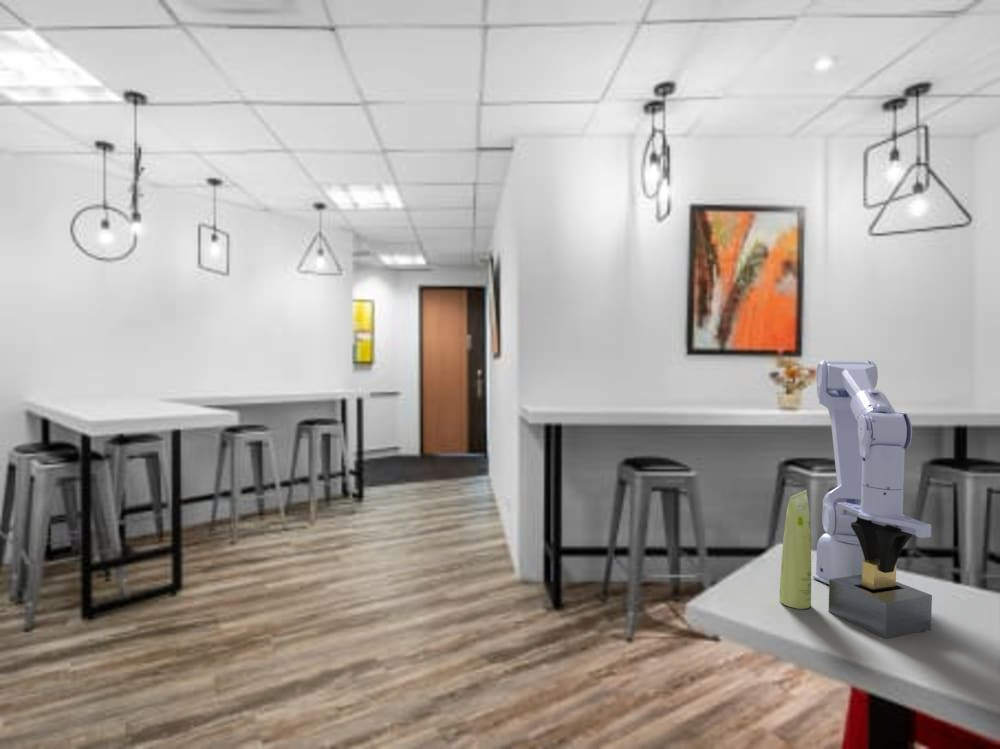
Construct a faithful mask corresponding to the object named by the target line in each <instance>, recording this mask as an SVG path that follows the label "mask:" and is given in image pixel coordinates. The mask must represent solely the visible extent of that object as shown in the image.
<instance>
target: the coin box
mask: <svg viewBox="0 0 1000 749" xmlns="http://www.w3.org/2000/svg"><path fill="white" fill-rule="evenodd" d="M932 605H933V595H932V594H930V593H928V592H926V591H922V590H919V589H917V588H914V587H911V586H909V585H906V584H903V583H900V582H897V581H896V586H894V587H888V588H882V589H875V590H873V589H870V588H868V587H865V586H863V585H862V575H855V576H848V577H841V578H834V579H829V584H828V612H829V613H831V614H833V615H836V616H838V617H840V618H842V619H844V620H846V621H848V622H849V623H850V622H851V623H852V624H854V625H856V626H858V627H860V628H862V629H864V630H867V631H869V632H871V633H873V634H875V635H877V636H879V637H882V638H884V639H889V638H894V637H895V638H896V637H900V636H905V635H910V634H914V633H920V632H925V631H931V630H932V612H933V611H932Z"/></svg>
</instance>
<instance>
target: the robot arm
mask: <svg viewBox="0 0 1000 749" xmlns="http://www.w3.org/2000/svg"><path fill="white" fill-rule="evenodd" d="M878 376H879V374H878V368H877V364H876V363H874V361H873V360H870V359H868V360H866V361H865V360H826V359H821V360H820V361H819V362H818V364H817V366H816V375H815V380H816V383H815V384H816V395H817V398H818V402H819V403H818V404H820V405H822V406H824V407H825V408H826V409H827V412H828V413H829V420H830V425H831V435H832V436H831V437H832V444H833V445H832V446H833V453H834V454H833V456H834V464H835V473H836V474H835V476H836V485H837V486H836V487H835V488H833V489H831V490H830V491H828V492H827V493H826V494H825V495H824V497H823V499H822V513H821V518H822V519H821V521H822V527H823V531H824V533H823V534H822V535H821V536H820V537H819V539H818V541H817V545H816V564H815V566H816V568H815V571H816V572H815V574H813V575H812V578H813V579H814V580H818V581H820V582H822V583H824V584H827V585H829V579H834V578H841V577H848V576H855V575H862V566H863V561H866V560H874V559H880V569H881V572H883V573H889V572H894V568H895V565H896V566H897V562H898V559H899V556H901V555H900V554H901V552H902V551H903V548H904V547H905V546H906V544H907V543H908V542H909V541H910V539H911V538H912V536H915V537H917V538H920V539H925V538H926V539H927V538H931V537H932V524H930V523H928V522H927V523H926V522H923V521H921V520H918V519H915V518H912V517H910V516H907V515H905V514H904V483H905V482H904V481H905V480H904V479H905V453H906V452H905V451H906V450H908V448H909V447H910V445H911V443H912V437H913V426H912V421H911V418H910V416H909V414H908V413H907V412H901V411H896V410H895V408H894V407H893V405H892V404H891V402H890V400H889V399H888V397H887V396H886V395H885V393H883V392H882V391H880V389H876V388H877V384H878V378H879V377H878Z"/></svg>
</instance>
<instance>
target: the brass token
mask: <svg viewBox="0 0 1000 749" xmlns="http://www.w3.org/2000/svg"><path fill="white" fill-rule="evenodd" d="M896 582H897V564H896V565H895V568H894V572H889V573H883V572H881V569H880V559H874V560H866V561H863V566H862V585H863V586H865V587H868V588H870V589H873V590H875V589H882V588H888V587H894V586H896Z"/></svg>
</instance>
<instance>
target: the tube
mask: <svg viewBox="0 0 1000 749" xmlns="http://www.w3.org/2000/svg"><path fill="white" fill-rule="evenodd" d="M810 518H811V517H810V506H809V499H808V491H807V489H805V490H803V491H800V492H798V493H796V494H794V495H791V496H789V500H788V504H787V508H786V515H785V523H784V532H783V533H784V534H783V539H782V550H781V551H782V552H781V565H780V582H779V602H780V603H781V604H782V605H785V606H786V607H790V608H793V609H799V610H802V609H803V610H806V609H808V608H810V607H811V606H812V542H811V522H810Z"/></svg>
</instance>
